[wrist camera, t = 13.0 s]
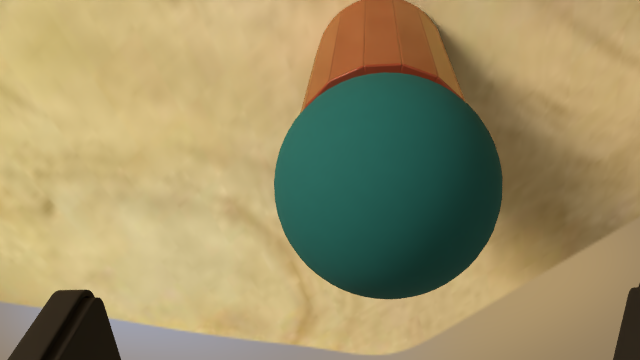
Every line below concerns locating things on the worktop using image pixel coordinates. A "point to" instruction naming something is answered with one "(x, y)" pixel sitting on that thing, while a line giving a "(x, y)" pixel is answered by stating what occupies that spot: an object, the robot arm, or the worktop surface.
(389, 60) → the tumbler
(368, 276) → the ball
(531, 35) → the worktop surface
